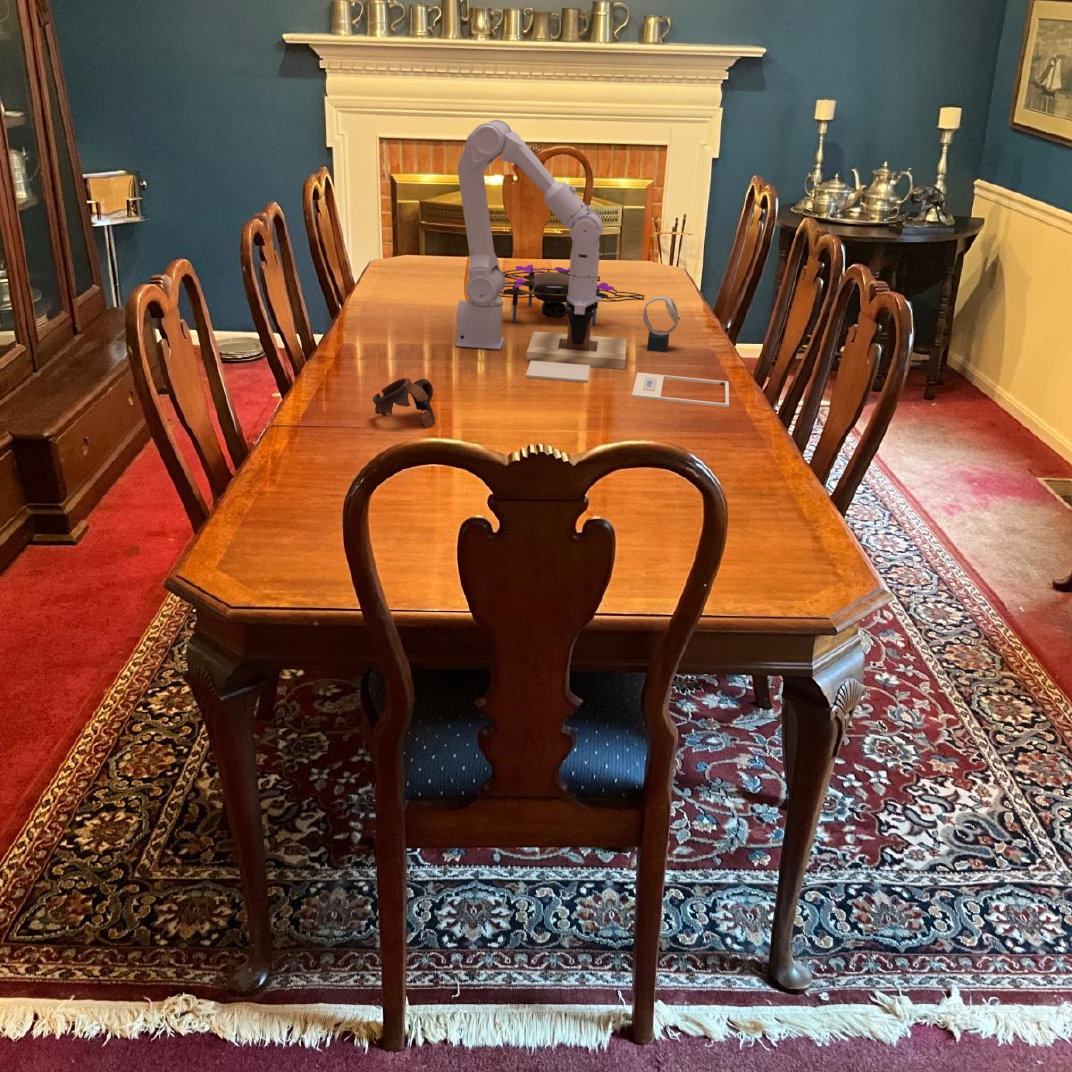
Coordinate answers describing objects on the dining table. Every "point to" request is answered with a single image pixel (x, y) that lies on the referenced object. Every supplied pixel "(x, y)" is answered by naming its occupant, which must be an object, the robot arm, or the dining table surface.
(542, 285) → the drone
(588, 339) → the block
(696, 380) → the photo frame
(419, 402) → the brown curved piece
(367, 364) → the dining table surface
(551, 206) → the robot arm
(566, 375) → the felt pad
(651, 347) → the watch
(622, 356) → the pocket board
